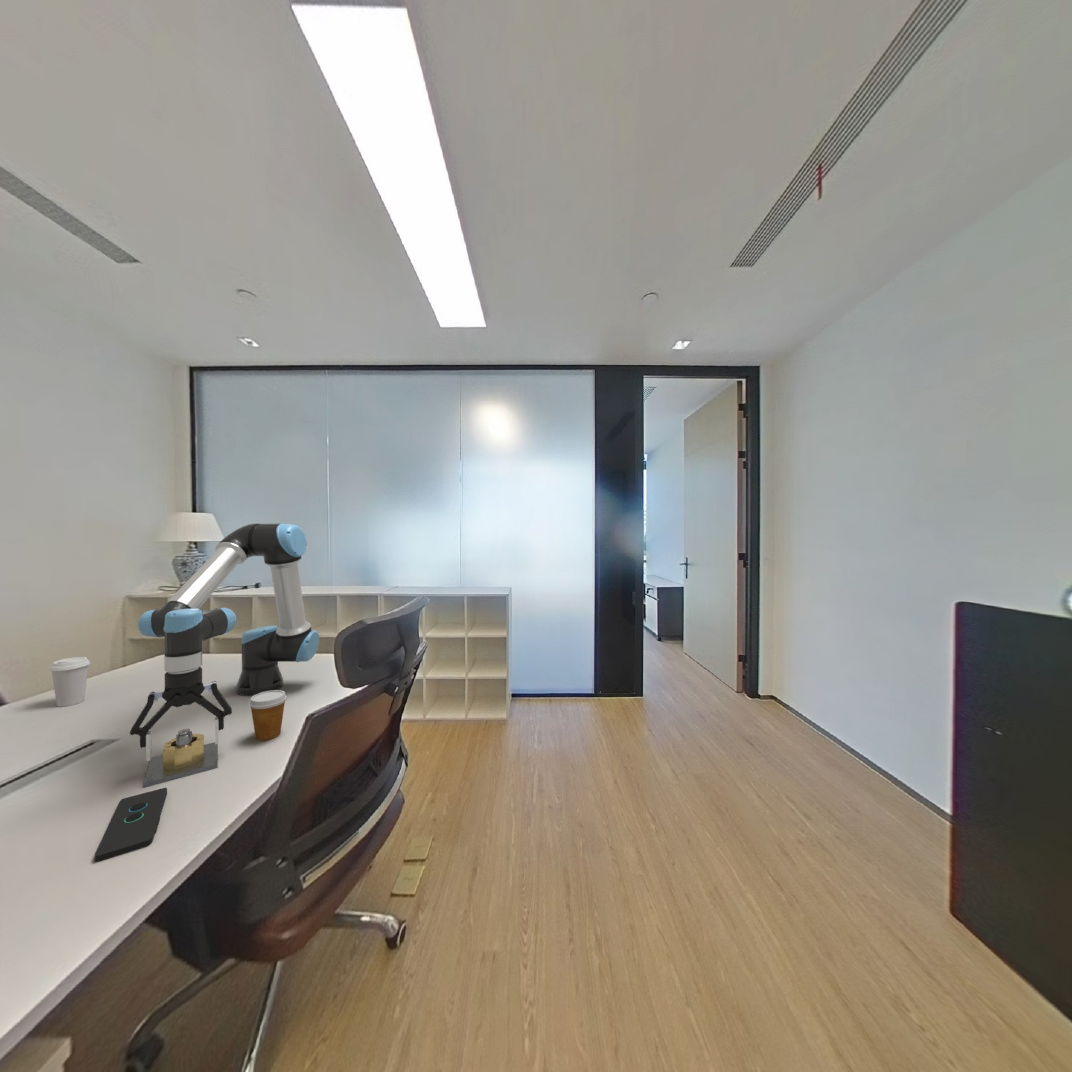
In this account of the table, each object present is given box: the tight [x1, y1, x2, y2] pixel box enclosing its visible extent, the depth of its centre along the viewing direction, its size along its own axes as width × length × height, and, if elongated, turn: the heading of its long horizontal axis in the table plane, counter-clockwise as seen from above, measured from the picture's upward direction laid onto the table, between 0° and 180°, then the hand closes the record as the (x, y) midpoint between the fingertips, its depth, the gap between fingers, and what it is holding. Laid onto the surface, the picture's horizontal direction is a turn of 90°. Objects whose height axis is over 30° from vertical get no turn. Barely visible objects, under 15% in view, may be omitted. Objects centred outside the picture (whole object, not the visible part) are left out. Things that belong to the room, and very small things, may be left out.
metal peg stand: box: [143, 728, 219, 788], centre depth 109 cm, size 14×14×9 cm
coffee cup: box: [49, 656, 91, 708], centre depth 146 cm, size 10×10×15 cm
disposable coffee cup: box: [248, 689, 288, 741], centre depth 125 cm, size 10×10×12 cm
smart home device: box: [94, 787, 168, 863], centre depth 88 cm, size 8×2×20 cm
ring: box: [162, 733, 205, 770], centre depth 109 cm, size 8×8×5 cm
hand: (184, 750), depth 109 cm, fingers open, 13 cm apart
